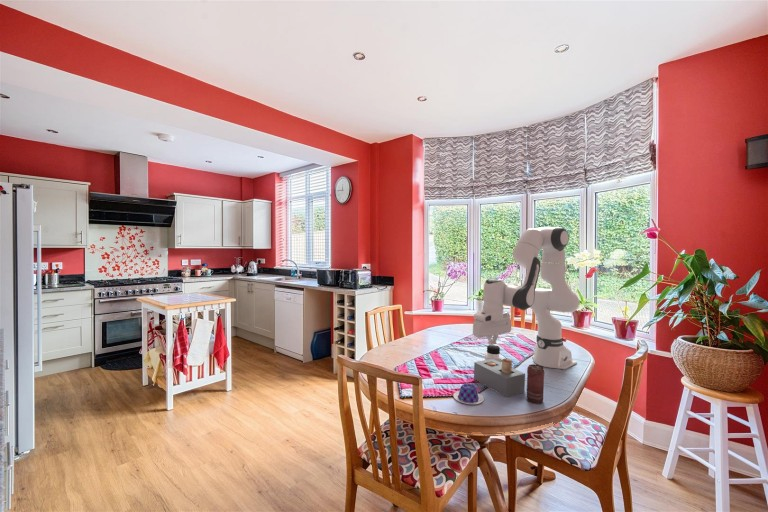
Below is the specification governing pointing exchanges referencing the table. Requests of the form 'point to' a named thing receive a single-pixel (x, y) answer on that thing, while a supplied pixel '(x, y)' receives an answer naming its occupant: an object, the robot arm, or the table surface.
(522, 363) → the table surface
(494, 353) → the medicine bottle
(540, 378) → the can
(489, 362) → the peg
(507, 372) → the peg
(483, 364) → the block
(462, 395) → the pudding
